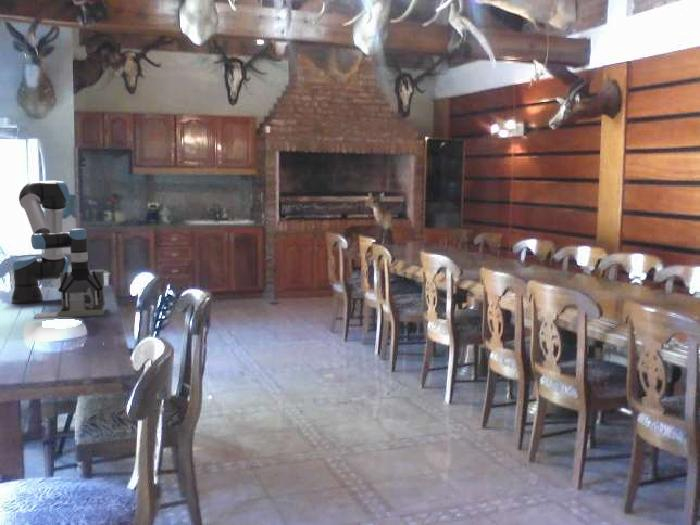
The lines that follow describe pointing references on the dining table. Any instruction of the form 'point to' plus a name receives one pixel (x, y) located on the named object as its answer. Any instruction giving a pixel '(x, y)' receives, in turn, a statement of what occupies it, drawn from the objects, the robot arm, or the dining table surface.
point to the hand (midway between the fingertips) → (81, 305)
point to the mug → (80, 300)
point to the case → (83, 287)
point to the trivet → (45, 315)
